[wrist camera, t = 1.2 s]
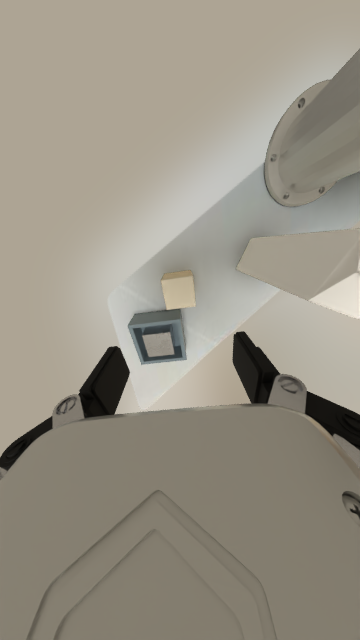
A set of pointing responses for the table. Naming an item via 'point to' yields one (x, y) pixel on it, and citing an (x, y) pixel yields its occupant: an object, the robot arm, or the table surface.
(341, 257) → the milk
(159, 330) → the block
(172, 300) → the beige cube
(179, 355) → the tote
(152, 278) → the table surface
